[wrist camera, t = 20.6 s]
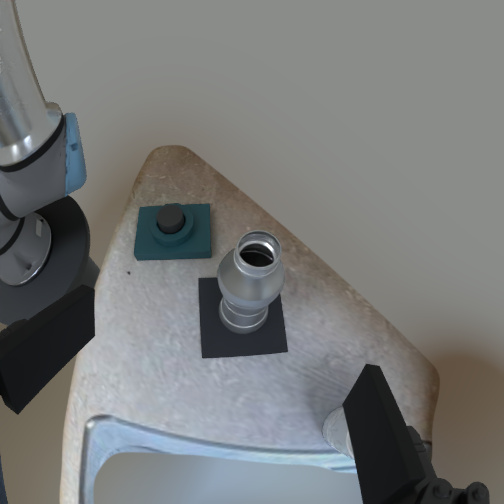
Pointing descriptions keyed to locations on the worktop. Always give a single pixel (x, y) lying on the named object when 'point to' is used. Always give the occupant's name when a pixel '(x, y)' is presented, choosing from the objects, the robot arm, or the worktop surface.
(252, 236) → the silver bottle
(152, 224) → the teal pump base
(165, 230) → the button
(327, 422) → the white cup
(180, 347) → the worktop surface
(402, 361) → the worktop surface
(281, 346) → the mat
